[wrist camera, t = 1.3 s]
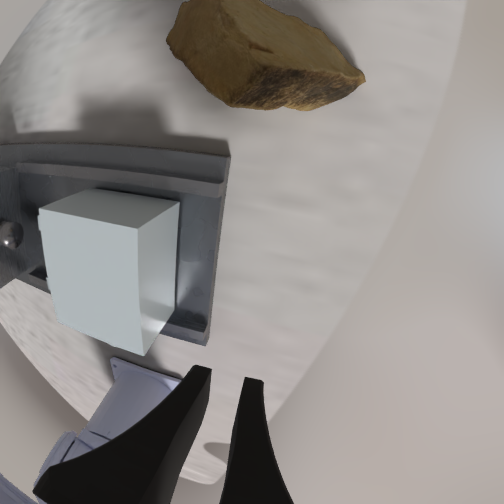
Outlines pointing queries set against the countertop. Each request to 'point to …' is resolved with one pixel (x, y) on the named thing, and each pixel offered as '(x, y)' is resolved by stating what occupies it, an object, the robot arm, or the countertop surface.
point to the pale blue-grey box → (111, 264)
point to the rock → (260, 56)
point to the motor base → (126, 181)
